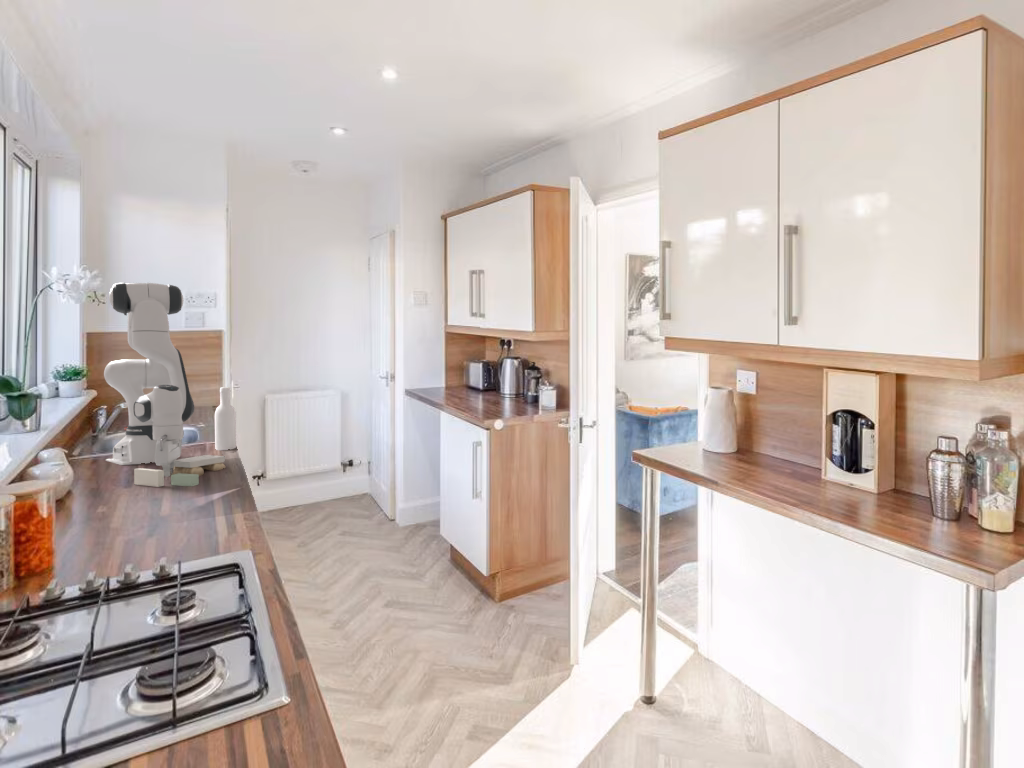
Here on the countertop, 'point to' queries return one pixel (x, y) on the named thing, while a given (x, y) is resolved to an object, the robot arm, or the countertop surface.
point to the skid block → (185, 479)
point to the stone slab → (199, 461)
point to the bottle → (225, 422)
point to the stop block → (149, 477)
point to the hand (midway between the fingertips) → (168, 474)
